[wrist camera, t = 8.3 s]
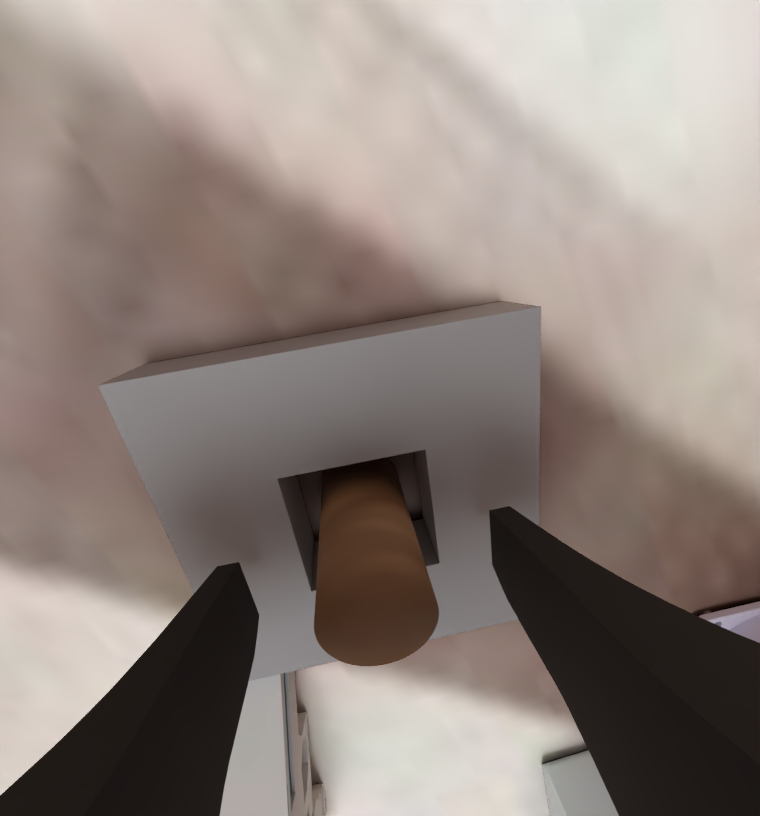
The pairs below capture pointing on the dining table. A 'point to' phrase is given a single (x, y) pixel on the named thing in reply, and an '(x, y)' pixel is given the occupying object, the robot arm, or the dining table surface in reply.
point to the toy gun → (271, 755)
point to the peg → (370, 569)
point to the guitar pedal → (576, 787)
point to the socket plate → (341, 454)
